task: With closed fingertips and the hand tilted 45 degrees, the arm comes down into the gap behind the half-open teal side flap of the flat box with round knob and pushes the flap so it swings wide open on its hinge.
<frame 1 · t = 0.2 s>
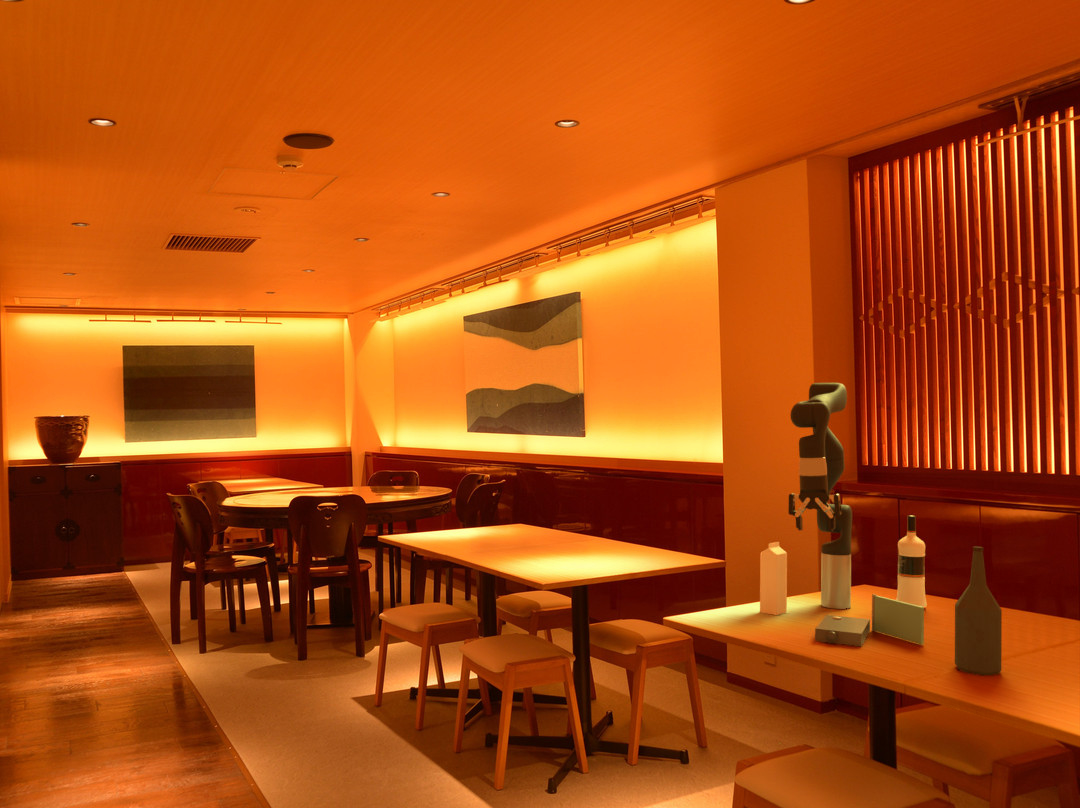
hand: (815, 530, 252), 29 cm above the table, tool pointing down, fingers open, 8 cm apart
door: (896, 618, 250), point 5 cm above the table, hinge at 50.0°
vodka: (911, 608, 292), on the table
box with round knob: (843, 636, 251), on the table
milk: (773, 613, 281), on the table
bottle: (977, 671, 218), on the table
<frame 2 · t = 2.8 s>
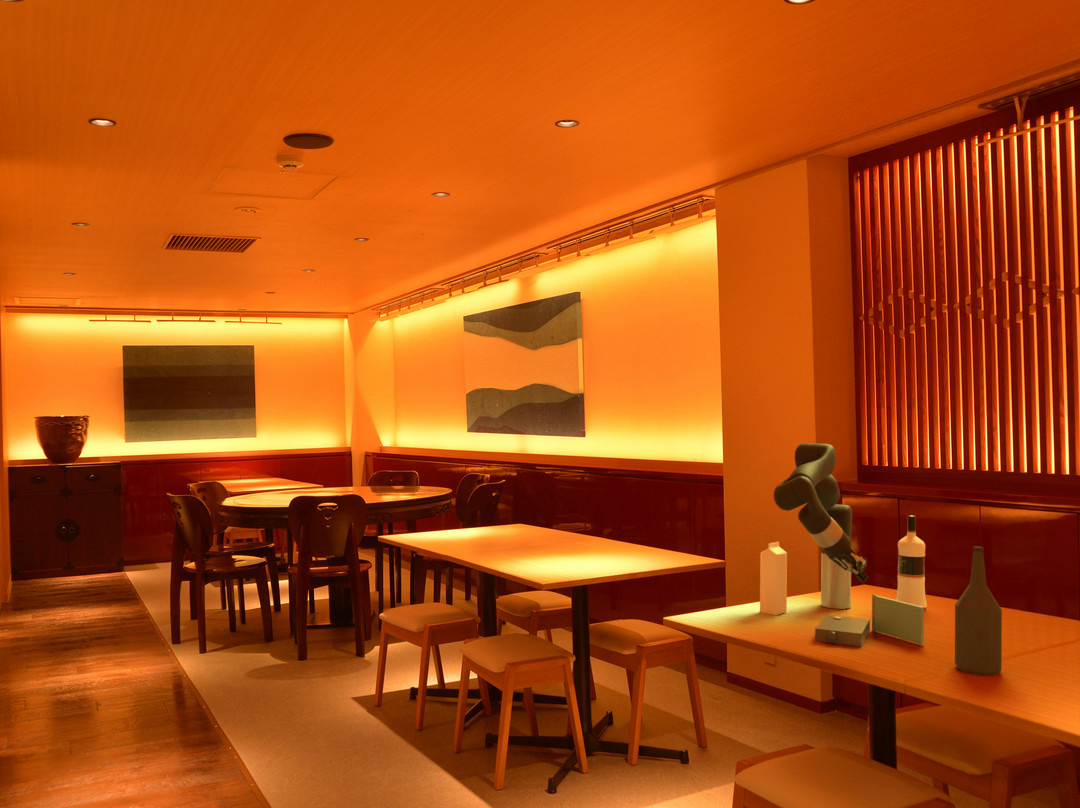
hand: (864, 579, 242), 17 cm above the table, tool tilted 45°, fingers closed
nothing on the table moved.
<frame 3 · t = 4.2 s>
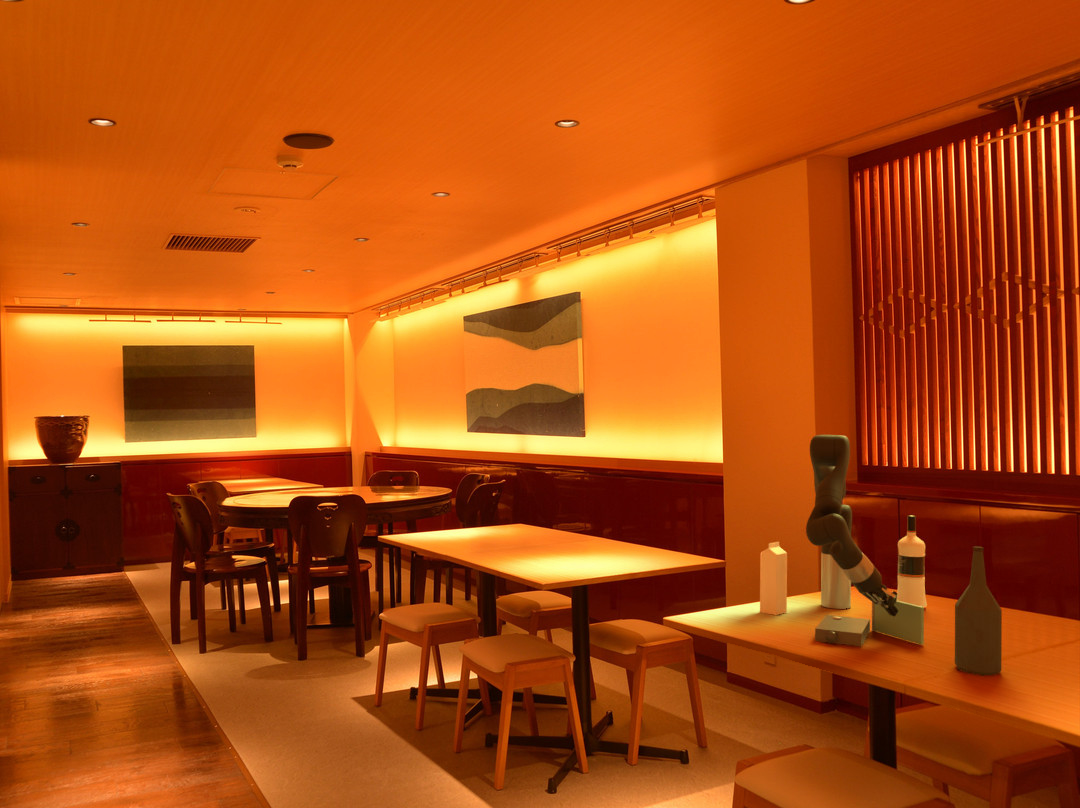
hand: (894, 613, 246), 8 cm above the table, tool tilted 45°, fingers closed
nothing on the table moved.
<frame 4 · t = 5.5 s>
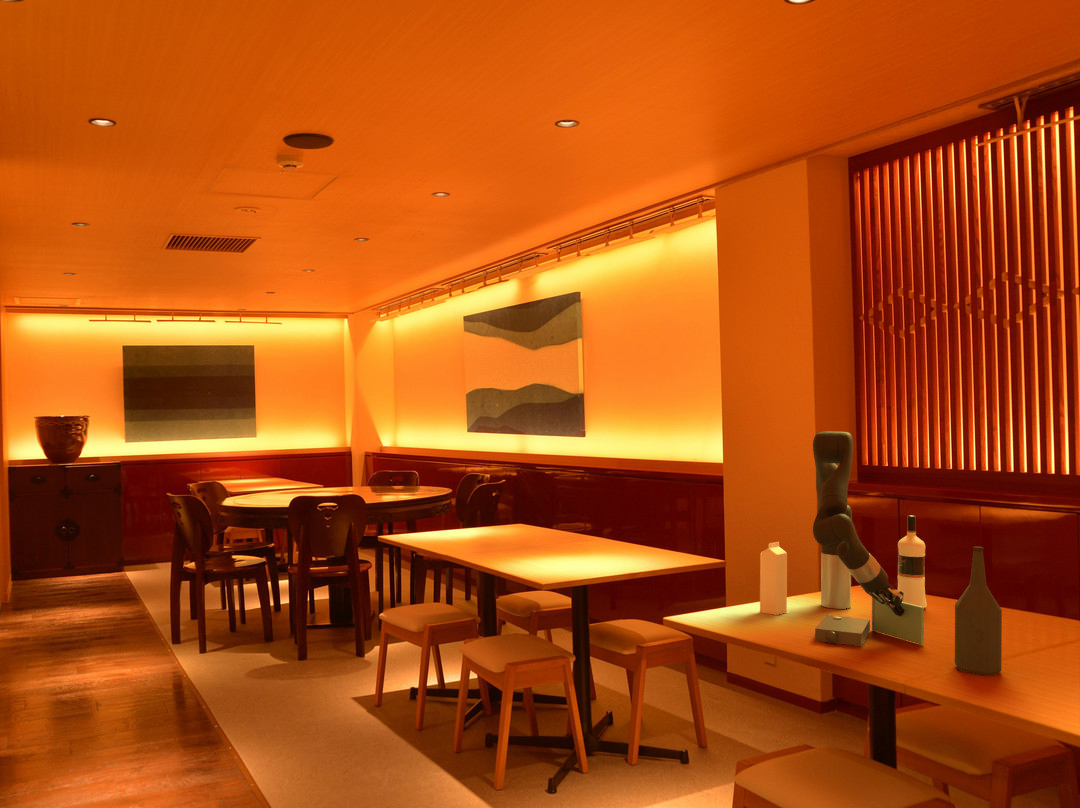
hand: (900, 613, 247), 7 cm above the table, tool tilted 45°, fingers closed
door: (896, 618, 250), point 5 cm above the table, hinge at 50.0°, touching gripper
everything else where it was.
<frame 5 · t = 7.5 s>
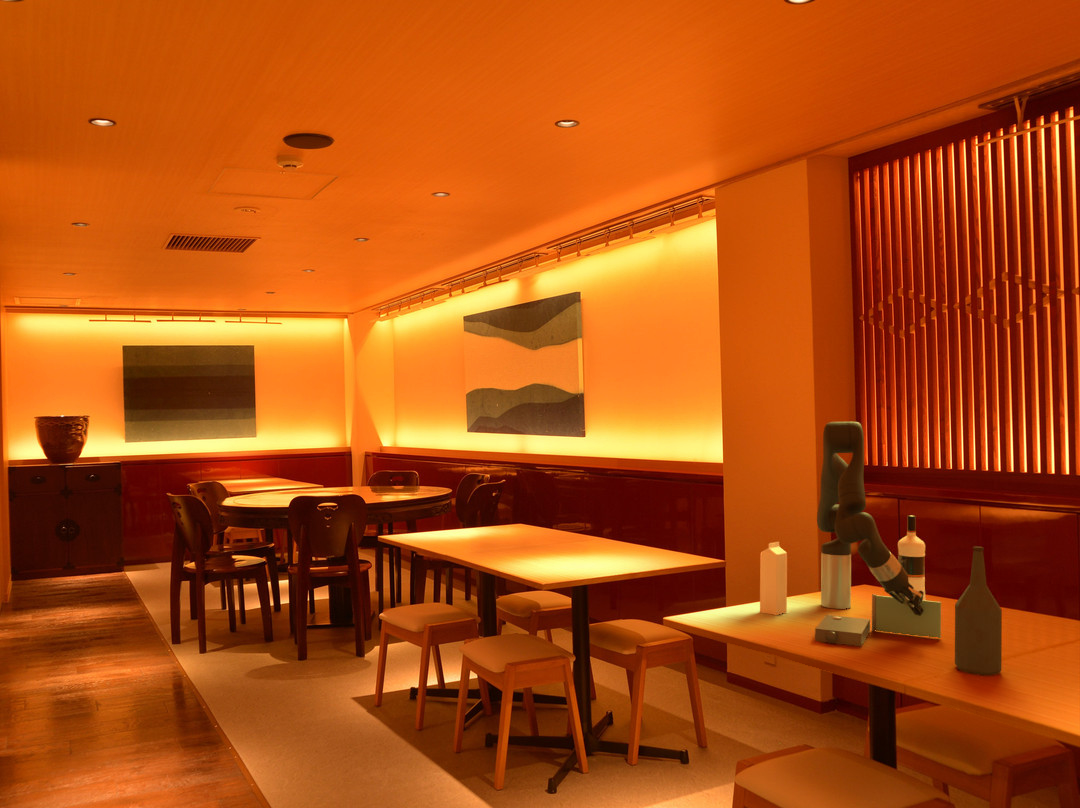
hand: (919, 613, 250), 7 cm above the table, tool tilted 45°, fingers closed
door: (905, 616, 253), point 5 cm above the table, hinge at 86.2°, touching gripper
everything else where it was.
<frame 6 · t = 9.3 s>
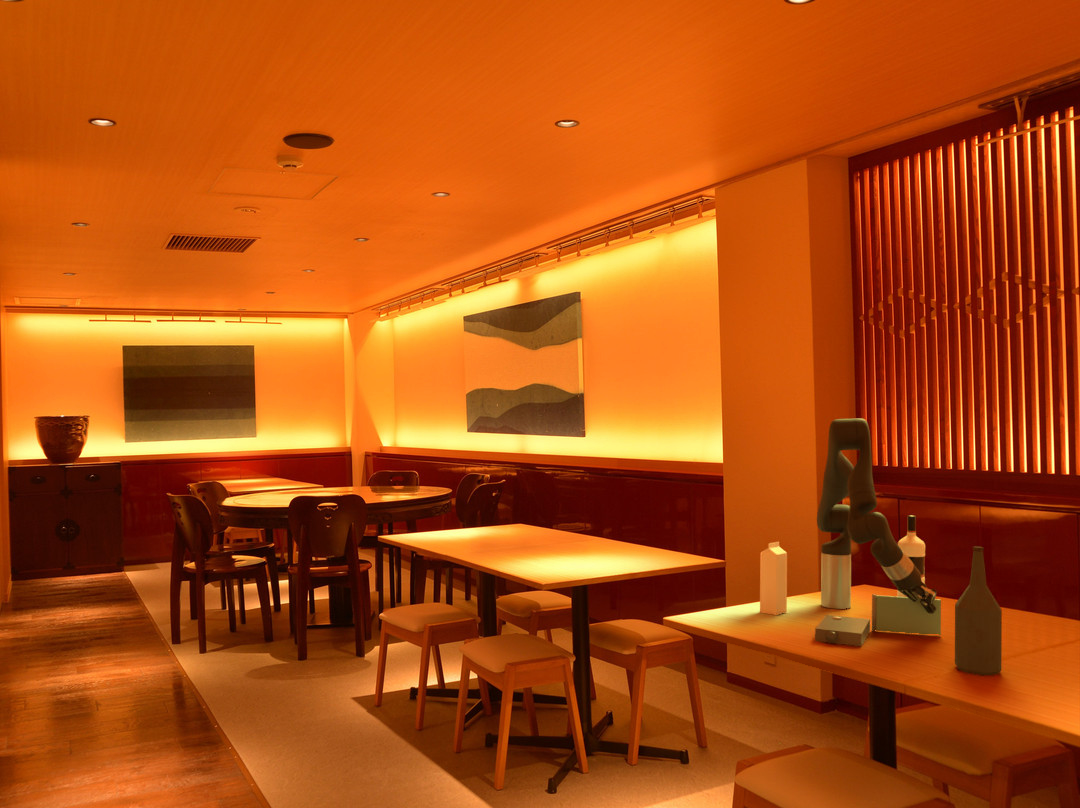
hand: (932, 611, 252), 7 cm above the table, tool tilted 45°, fingers closed
door: (905, 615, 255), point 5 cm above the table, hinge at 99.0°, touching gripper
everything else where it was.
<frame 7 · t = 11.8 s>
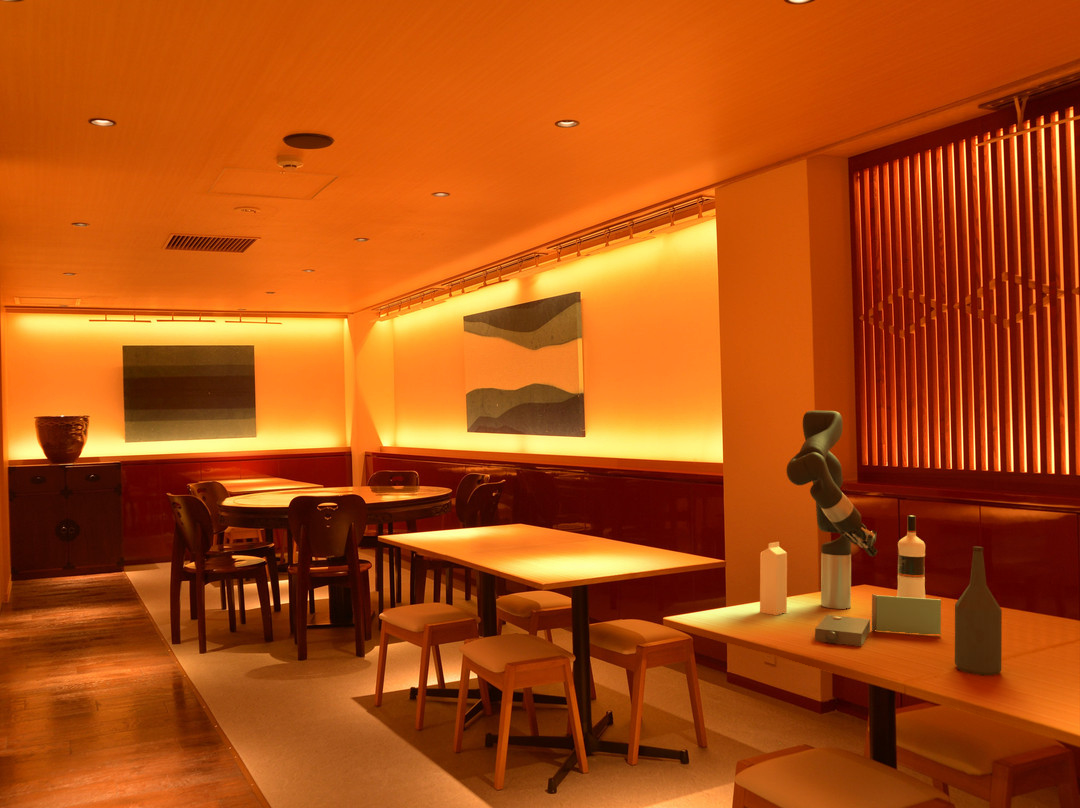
hand: (874, 553, 249), 23 cm above the table, tool tilted 45°, fingers closed
door: (905, 615, 255), point 5 cm above the table, hinge at 99.0°
everything else where it was.
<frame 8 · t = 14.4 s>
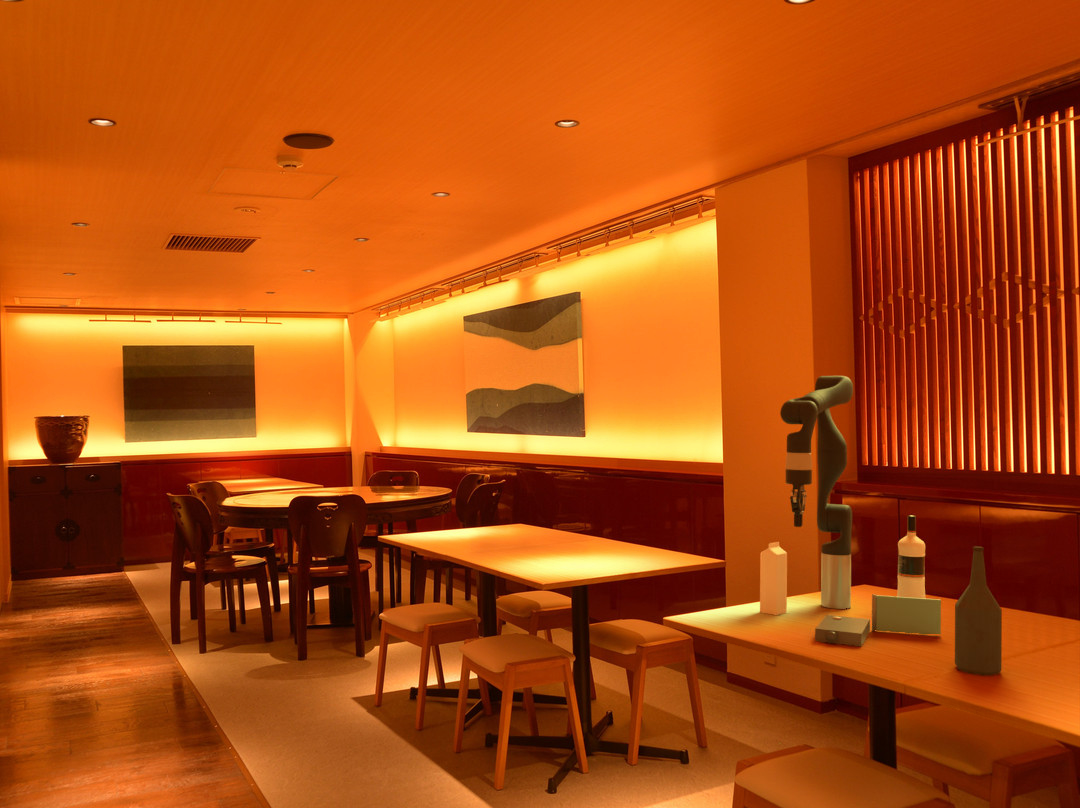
hand: (798, 526, 265), 29 cm above the table, tool pointing down, fingers closed
nothing on the table moved.
at the end: door at +99° (first picture: +50°) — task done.
